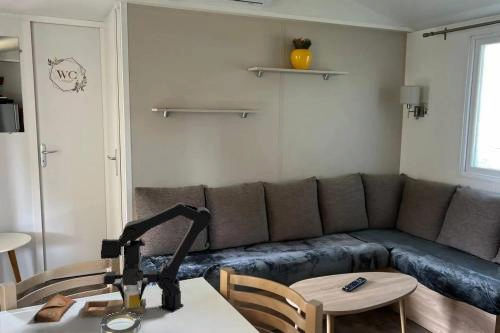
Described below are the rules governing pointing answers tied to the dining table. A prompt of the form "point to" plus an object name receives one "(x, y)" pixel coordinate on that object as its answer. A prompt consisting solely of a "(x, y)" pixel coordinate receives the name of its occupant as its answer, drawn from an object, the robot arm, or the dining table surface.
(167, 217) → the robot arm
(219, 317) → the dining table surface
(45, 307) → the sunglasses case
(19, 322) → the dining table surface
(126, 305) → the supplement bottle
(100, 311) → the walnut dock
